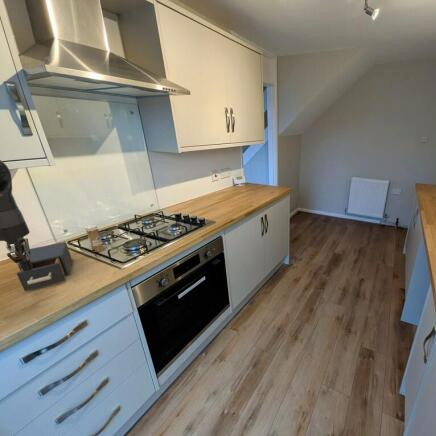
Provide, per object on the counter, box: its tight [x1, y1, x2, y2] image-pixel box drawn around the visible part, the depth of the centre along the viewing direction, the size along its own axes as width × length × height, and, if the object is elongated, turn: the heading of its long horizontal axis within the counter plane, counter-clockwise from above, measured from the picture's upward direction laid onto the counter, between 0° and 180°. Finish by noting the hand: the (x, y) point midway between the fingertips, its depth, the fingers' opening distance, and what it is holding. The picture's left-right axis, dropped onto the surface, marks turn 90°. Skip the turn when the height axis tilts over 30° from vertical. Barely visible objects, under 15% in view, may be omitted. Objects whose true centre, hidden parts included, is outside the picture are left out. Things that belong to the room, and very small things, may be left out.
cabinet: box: [17, 241, 73, 277], centre depth 100 cm, size 15×13×10 cm
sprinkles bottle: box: [84, 224, 104, 253], centre depth 118 cm, size 5×5×13 cm
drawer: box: [16, 257, 67, 292], centre depth 94 cm, size 18×11×8 cm, turn 37°
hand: (28, 269), depth 80 cm, fingers closed
